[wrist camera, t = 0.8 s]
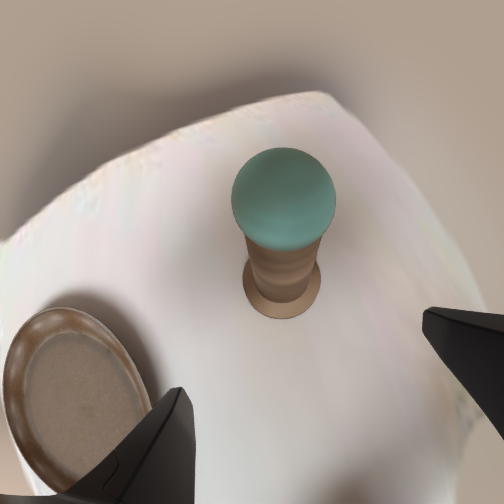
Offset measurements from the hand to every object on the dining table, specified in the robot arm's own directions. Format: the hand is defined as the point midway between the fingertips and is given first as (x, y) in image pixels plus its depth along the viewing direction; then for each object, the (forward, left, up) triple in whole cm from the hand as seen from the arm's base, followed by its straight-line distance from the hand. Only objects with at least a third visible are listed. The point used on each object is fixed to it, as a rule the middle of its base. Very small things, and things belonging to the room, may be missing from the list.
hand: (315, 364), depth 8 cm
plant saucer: (+8, +20, -13) cm, 25 cm away
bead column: (+7, -4, -13) cm, 15 cm away
